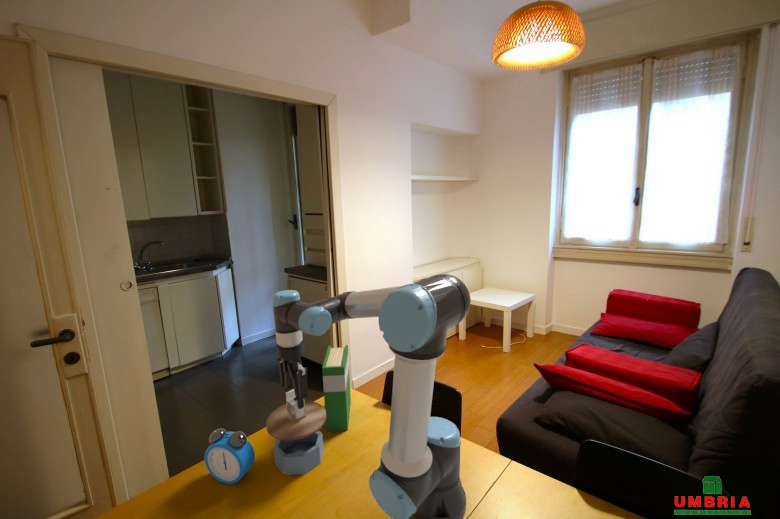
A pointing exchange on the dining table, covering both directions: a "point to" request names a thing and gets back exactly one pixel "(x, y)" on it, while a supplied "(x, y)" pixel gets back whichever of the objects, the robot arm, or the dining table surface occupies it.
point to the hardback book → (336, 388)
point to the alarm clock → (229, 456)
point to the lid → (295, 421)
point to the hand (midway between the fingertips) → (296, 413)
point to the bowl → (299, 454)
